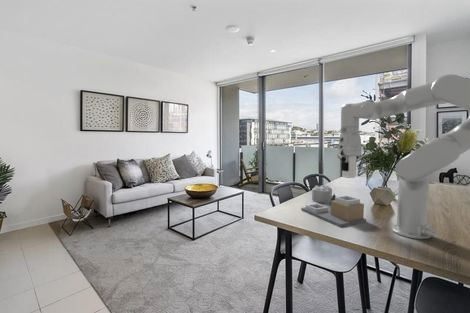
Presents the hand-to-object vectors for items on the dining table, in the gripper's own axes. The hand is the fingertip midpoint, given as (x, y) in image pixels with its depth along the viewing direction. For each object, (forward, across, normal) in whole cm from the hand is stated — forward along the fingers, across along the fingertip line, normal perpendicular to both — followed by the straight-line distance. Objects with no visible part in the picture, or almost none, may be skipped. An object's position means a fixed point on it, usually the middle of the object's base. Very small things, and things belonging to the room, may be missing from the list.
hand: (348, 170), depth 110 cm
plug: (+3, 0, 0) cm, 3 cm away
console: (+23, -3, +7) cm, 25 cm away
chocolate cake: (+24, +10, +15) cm, 30 cm away
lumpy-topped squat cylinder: (+23, +14, +31) cm, 42 cm away
